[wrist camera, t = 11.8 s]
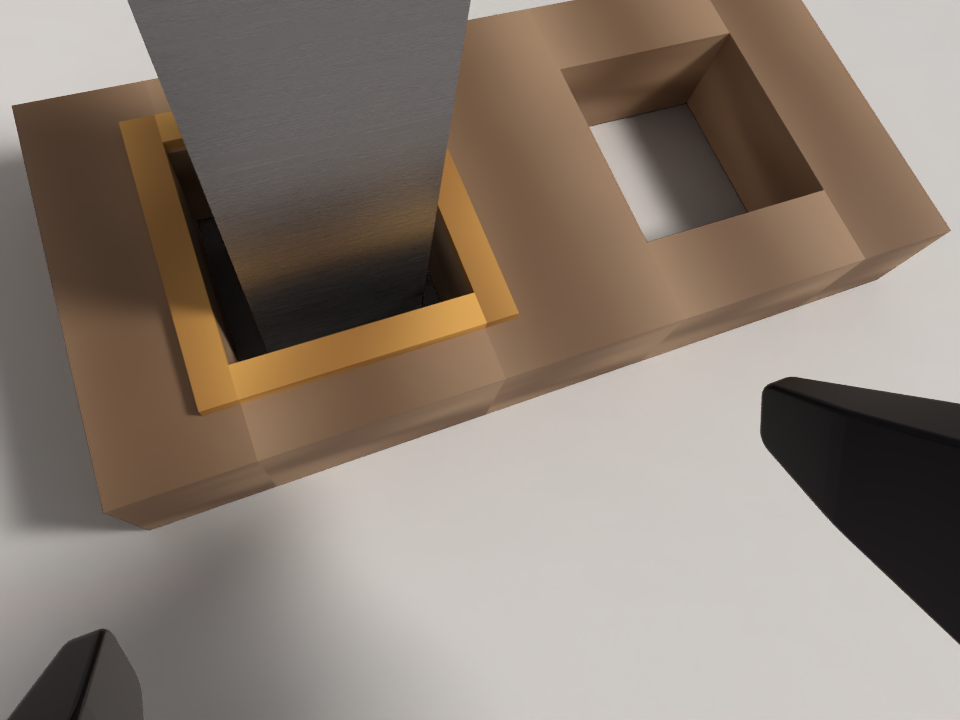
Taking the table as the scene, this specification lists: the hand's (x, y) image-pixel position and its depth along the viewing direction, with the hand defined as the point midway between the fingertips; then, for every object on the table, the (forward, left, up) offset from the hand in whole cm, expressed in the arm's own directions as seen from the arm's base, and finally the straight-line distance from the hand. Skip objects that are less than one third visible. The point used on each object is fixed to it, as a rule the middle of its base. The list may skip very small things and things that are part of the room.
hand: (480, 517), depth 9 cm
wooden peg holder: (+9, +3, -9) cm, 13 cm away
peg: (+5, +6, -9) cm, 12 cm away
